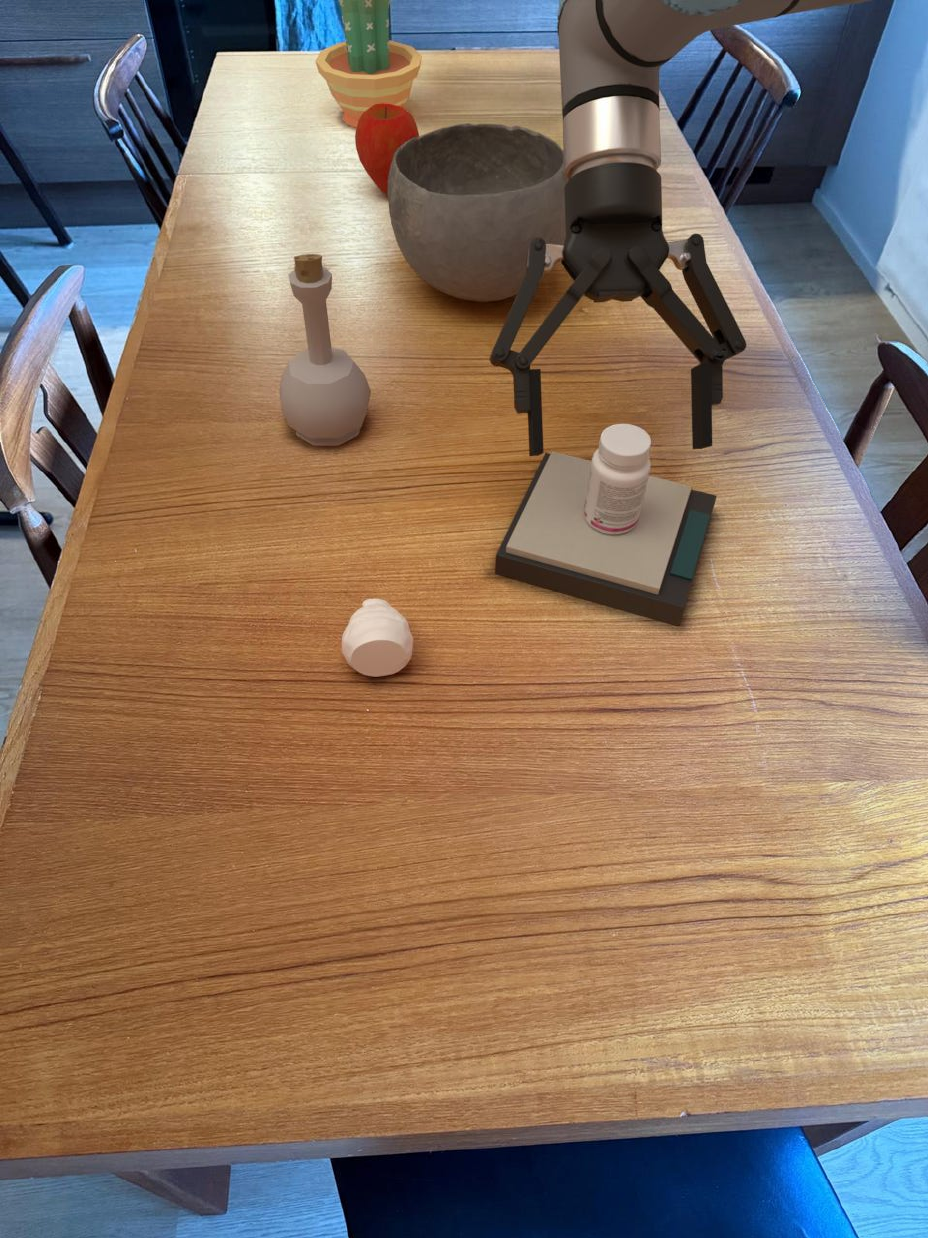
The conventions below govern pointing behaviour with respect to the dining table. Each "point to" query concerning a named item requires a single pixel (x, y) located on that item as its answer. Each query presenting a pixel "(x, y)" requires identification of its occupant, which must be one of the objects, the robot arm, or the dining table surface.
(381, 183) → the apple
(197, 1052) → the dining table surface
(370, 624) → the garlic bulb
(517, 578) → the scale
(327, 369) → the potion bottle
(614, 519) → the pill bottle
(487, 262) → the bowl
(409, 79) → the potted cactus
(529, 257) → the robot arm
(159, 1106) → the dining table surface
